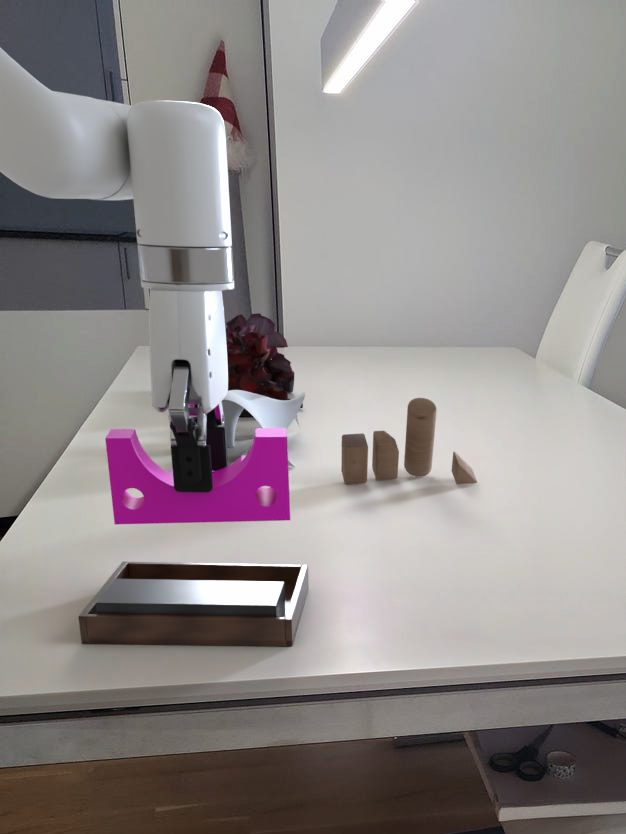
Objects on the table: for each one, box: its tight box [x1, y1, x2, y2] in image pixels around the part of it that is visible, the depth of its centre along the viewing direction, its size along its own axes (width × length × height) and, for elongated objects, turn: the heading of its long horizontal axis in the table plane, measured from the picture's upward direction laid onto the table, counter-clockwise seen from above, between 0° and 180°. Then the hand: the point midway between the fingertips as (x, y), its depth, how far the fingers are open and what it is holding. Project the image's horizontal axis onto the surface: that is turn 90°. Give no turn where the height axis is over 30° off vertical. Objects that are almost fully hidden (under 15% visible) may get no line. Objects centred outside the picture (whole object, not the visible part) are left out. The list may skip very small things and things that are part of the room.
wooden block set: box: [340, 397, 478, 485], centre depth 140 cm, size 18×9×10 cm, turn 105°
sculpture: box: [167, 390, 306, 468], centre depth 154 cm, size 25×19×10 cm
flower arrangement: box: [225, 312, 304, 418], centre depth 187 cm, size 31×20×15 cm, turn 13°
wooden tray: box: [77, 561, 310, 647], centre depth 94 cm, size 18×14×4 cm
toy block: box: [105, 427, 291, 525], centre depth 92 cm, size 15×6×8 cm, turn 101°
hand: (202, 478), depth 92 cm, fingers closed on toy block, 6 cm apart
